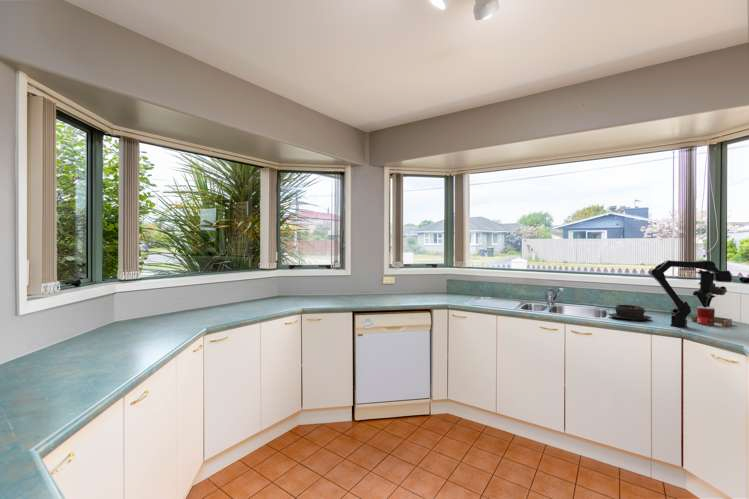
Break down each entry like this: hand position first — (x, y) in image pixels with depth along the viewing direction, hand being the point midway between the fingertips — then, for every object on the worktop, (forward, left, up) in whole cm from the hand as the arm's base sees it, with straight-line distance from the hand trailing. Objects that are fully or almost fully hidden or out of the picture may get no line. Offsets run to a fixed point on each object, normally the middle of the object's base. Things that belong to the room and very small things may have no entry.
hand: (706, 307), depth 209 cm
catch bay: (-5, +21, -13) cm, 26 cm away
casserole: (-36, -12, -13) cm, 40 cm away
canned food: (-5, +14, -13) cm, 20 cm away
